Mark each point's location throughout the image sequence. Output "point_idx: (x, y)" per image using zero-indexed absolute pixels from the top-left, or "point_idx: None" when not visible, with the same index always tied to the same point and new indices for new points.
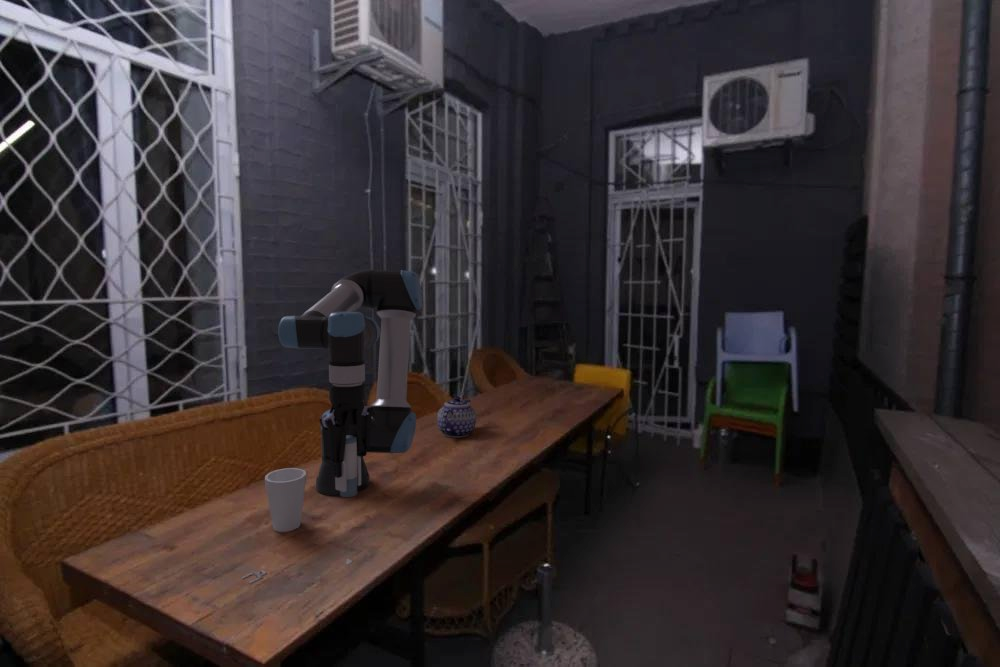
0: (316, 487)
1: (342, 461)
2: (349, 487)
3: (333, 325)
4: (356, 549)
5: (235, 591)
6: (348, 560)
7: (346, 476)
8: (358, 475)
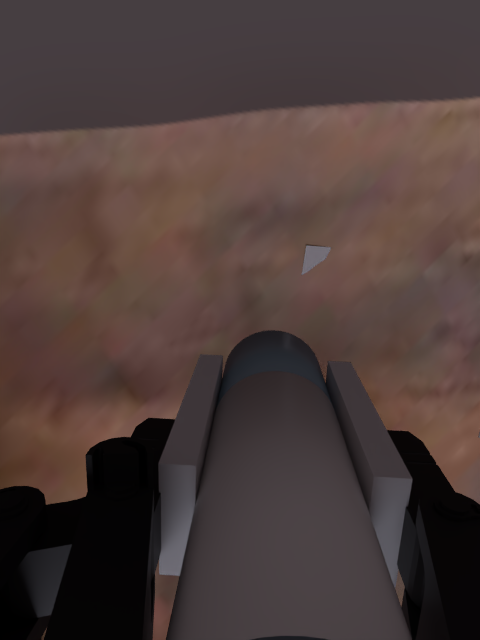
0: None
1: (427, 498)
2: (309, 362)
3: None
4: (242, 289)
5: None
6: (310, 261)
7: (333, 411)
8: (216, 385)
